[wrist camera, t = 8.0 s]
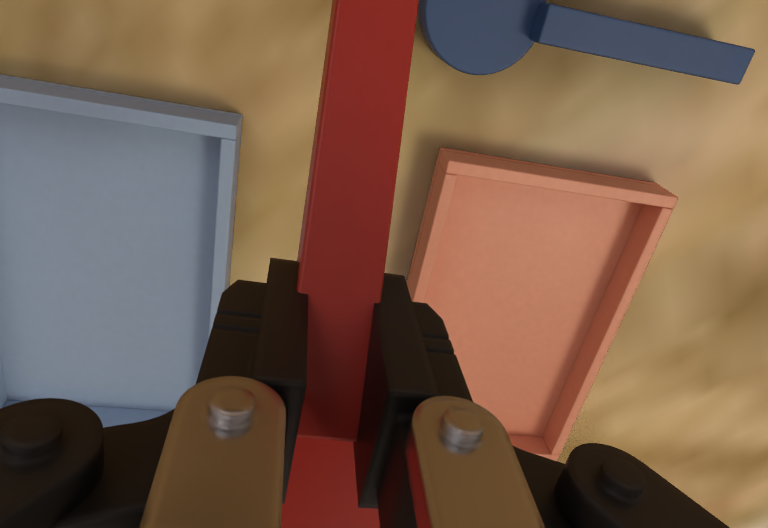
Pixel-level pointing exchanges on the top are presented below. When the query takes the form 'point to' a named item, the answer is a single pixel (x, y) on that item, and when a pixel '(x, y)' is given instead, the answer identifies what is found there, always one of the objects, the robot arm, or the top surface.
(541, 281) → the red tray
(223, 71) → the top surface
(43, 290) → the blue tray
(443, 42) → the blue spoon
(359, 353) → the red spoon
